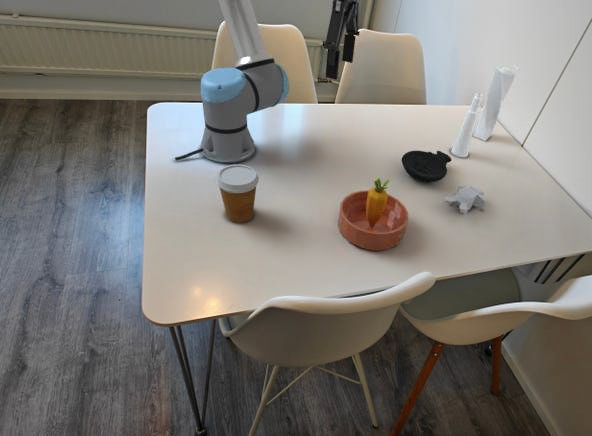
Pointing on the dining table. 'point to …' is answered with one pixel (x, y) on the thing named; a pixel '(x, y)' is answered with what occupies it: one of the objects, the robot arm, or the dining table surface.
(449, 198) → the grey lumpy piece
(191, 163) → the dining table surface
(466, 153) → the cosmetic bottle
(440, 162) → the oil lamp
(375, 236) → the bowl
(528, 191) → the dining table surface
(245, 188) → the disposable coffee cup
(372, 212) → the carrot
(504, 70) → the skyscraper
